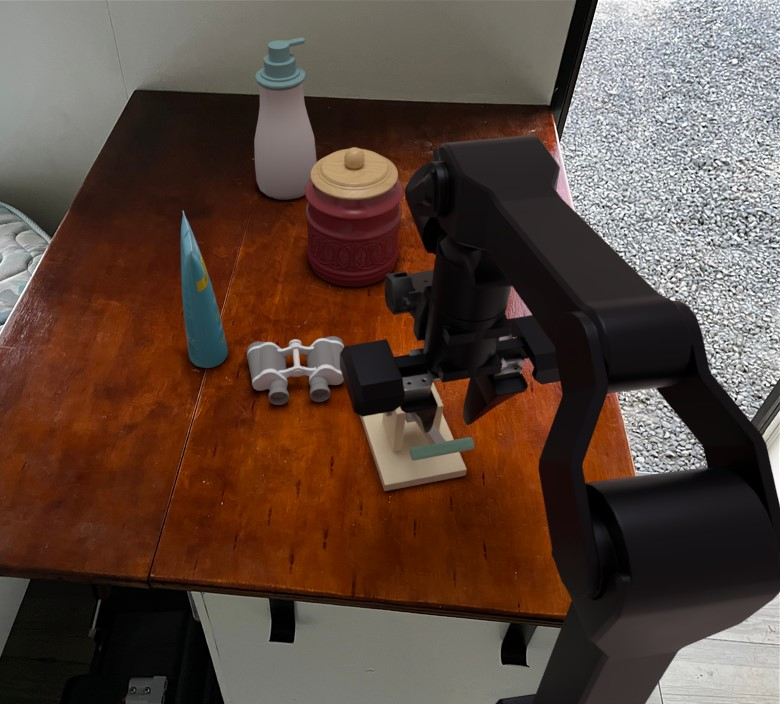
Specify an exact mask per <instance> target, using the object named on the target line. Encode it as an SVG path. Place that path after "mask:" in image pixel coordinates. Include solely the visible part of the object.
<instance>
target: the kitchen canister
mask: <svg viewBox="0 0 780 704" xmlns="http://www.w3.org/2000/svg"><path fill="white" fill-rule="evenodd" d="M304 196H305V199H306V201H307V204H306V205H305V206H306V207H305V218H306V225H307V244H306V254H307V255H306V256H307V259H308V263H309V265H310V269H312V271H313V272H314V273H315V274H316V276H318V277H319V278H321V280H324V281H326V282H328V283H330V284H333V285H337V286H341V287H342V286H343V287H350V288H351V287H355V288H356V287H364V286H368V285H369V286H370V285H373V284H376V283H378V282H381V281H382V280H383V279H386V274H391V273H393V271H394V268H395V266H396V263H397V261H398V257H399V251H400V245H399V234H400V223H401V219H402V214H403V213H402V206H401V204H400V203H401V201H402V199H403V196H404V186H403V184H402V182H401V180H400V178H399V172H398V169H397V167H396V165H395V164H394V163H393V161H392V160H390V159H388V158H387V157H385V156H383V155H381V154H379V153H377V152H375V151H372V150H369V149H365V148H359V147H354V146H353V147H350V148H347V149H346V148H345V149H340V150H336V151H334V152H332V153H330V154H328V155H326V156H324V157H322V158H320V159H319V160H318V161H316V164H315V165H314V166H313V168H312V170H311V178H310V179H309V180H308V182H307V183H306V186H305V195H304Z"/></svg>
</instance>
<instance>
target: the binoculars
mask: <svg viewBox="0 0 780 704" xmlns="http://www.w3.org/2000/svg"><path fill="white" fill-rule="evenodd" d="M344 347H345V346H344V340H343V339H341V337H339V336H336V335H331V336H326V337H321V338H318V339H316V340H314V341H313V343H311V345H309V346H304V345H303V344H302V341H301V340H300V339H298V338H297V339H296V338H295V339H292V340H291V339H290V341H289V342H288V346H287V347H284V348H281V347H280V346H278V344H276V343H274V342H272V341H267V342H265V341H254V342H252V343H250V344H249V345H248V347H246V360H247V363H248V368H249V372H250V377H251V385H252V387H253V389H254V390H256V391H258V392H259V391H260V392H261V391H266V390H269V392H268V401H269V403H271V404H272V405H274V406H275V405H276V406H282V405H285V404H287V403H288V402H289V400H290V393H289V391H288V386H289V385H288V383H289V382H288V378H290V377H294V378H298V377H299V378H300V377H303V376H307V377H308V384H309V387H310V389H309V398H310V399H311V400H312V401H314V402H317V403H320V402H325V401H327V400H329V398H330V397H331V390H330V387H329V385H330V386H331V385H332V386H338V385H341V384H342V383H344V379H343V376H342V372H341V369H340V353H341V351H342V350H343V348H344ZM300 355H305V356H306V365H307V366H303V365H301V361H300V360H301V359H300ZM287 356H292V358H293V359H292V360H293V366H292V367H288V368H287Z"/></svg>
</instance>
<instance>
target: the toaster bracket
mask: <svg viewBox="0 0 780 704" xmlns="http://www.w3.org/2000/svg"><path fill="white" fill-rule="evenodd" d="M431 390H432V393H433V395H434V397H435V399H436V402H437V404H438V407H437V411H436V415H435V419H434V422H433V424H434V425H435V427H436V428H437V430H438V431H439V432H440V434H441V435H442V437H443V438H444V440H445V441H451V440H455V438H454V437H453V434H452V432H451V430H450V427H449V425H448V423H447V420H446V417H445V416H444V414H443V411H444V403H443V401H442V397H441V394H439V392H438V390H437V387H436V385H435V383H434V382H433V383H432V386H431ZM405 417H406V413H405V412H403V411H402V410H401V408H400V407H399V408H397V409H396V410H395V411H392V412H386V413H380V414H375V415H369V416H364V417H363V416H360V415H359V418H360V421H361V423H362V428H363V430H364V434H365V436H366V440H367V443H368V445H369V446H368V447H369V449H370V452H371V455H372V458H373V461H374V464H375V467H376V470H377V473H378V477H379V479H380V482H381V486H382V488H383V491H384V492H387V491H393V490H398V489H403V488H409V487H415V486H419V485H424V484H429V483H434V482H440V481H444V480H445V481H446V480H449V479H455V478H461V477H465V476H466V475H467V471H468V469H467V467H466V465H465V461H464V460H463V457H462V455H461V453H460V452H456V453H451V454H446V455H440V456H435V457H430V458H424V459H419V460H414V461H413V460H412V459H411V456H410V448H413V447H418V446H424V445H429V444H430V443H429V441H428V440H427V438H426V437H425V435H424V434H423V432H422V431H421V429H420V428H419V426H418V424H417V423H416V421H414V422H409V423H407V422H406V420H405Z"/></svg>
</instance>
